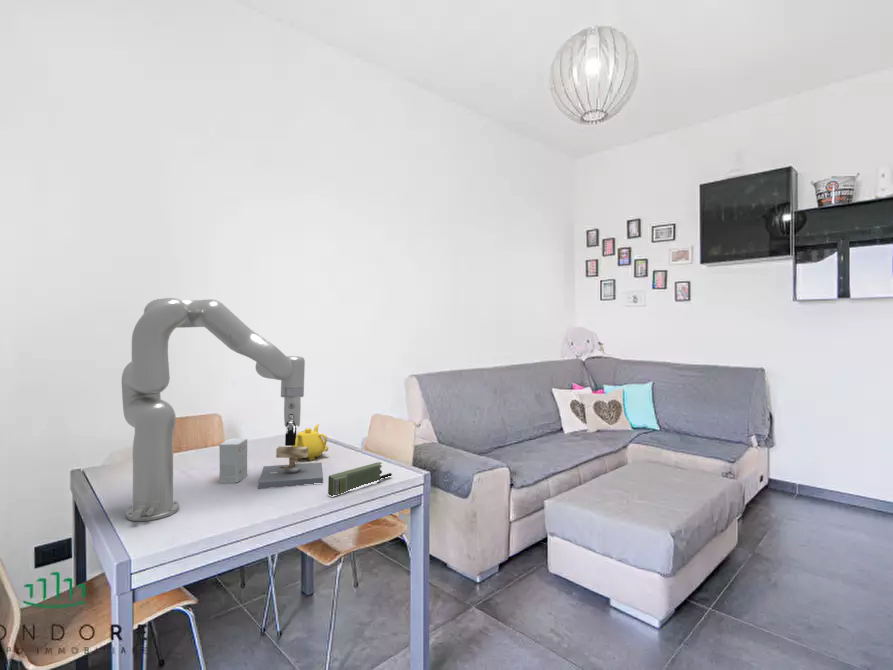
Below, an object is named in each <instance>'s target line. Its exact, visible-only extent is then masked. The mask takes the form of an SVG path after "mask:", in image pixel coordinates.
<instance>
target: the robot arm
mask: <svg viewBox="0 0 893 670" xmlns="http://www.w3.org/2000/svg"><path fill="white" fill-rule="evenodd" d="M179 328H185V329H186V328H204V329H207V330H208V332H210V333H211V334H212V335H213V336H215V337H216V338H217V339H218V340H219V341H221V342H222V343H223V344H224V345H225V346H226V347H227V348H228V349H230V350H232V351H233V352H235V353H237V354H239V355H242V356H244V357H247V358H249V359H251V360H252V361H255V362H256V364H255V371H256V373H257V374H258V375H259V376H261V377H262V378H266V379H271V380H277V381H280V397H281V398H283V419H284V420H283V421H284V423H283V424H284V426H285V427H286V429H285V431H286V433H285V437H284V438H285V441H284V442H285V443H284V446H285V447H291V446H294V445H295V439H296V435H297V427H298V428H299V427H300V426H301V408H302V407H301V398H304V397H305V394H304V393H305V390H304V389H305V370H306V369H305V368H306V367H305V366H306V363H305V362H306V361H305V358H304V357H303V356H296V355H295V356H293V355H289V356H286V354H284V352H283V351H282V350H280V349H279V348H278V347H277V346H275V345H274V344H273V343H272V342H270V341H268V340H267V339H266V338H264V337H262V336H261V335H259V334H258V333H257V332H256V331H254V330H252V329H251V328H250V327H248V325H246V324H245V322H244V321H242V320H241V319H240V318H239V317H238V316H236V315H235V314H234V313H233V312H232V311H231V310H230V309H229V308H228V307H227V306H226V305H225V304H223V303H222V302H220V301H219V300H217V299H208V298H207V299H195V300H193V299H191V300H188V299H186V300H185V299H179V298H176V297H165V298H157V299H153V300H151V301H149V302H148V303H147V304H146V305H145V307H144V309H143V314H142V315H141V316H140V318H139V319H138V321H137V322H136V324H135V325H134V327H133V331H132V335H131V361H130V362H129V363H127V365H125V367H124V369H123V370H122V371H123V372H122V375H121V397H122V399H121V400H122V410H123V417H124V419H125V421H126V422H127V424H128V425H129V426H131V427H132V428H134V436H133V441H132V442H133V443H132V507H130V508H129V509H128V510H126V512H125V518H126V519H128V520H129V521H132V522H133V521H134V522H147V521H148V522H149V521H155V520H159V519H160V520H161V519H163V518H166V517H169V516H171V515H173V514H175V513H176V512H178V511H179V509H180V503H179V502H178V501H175V500H174V438H175V437H174V436H175V428H176V422H177V421H176V420H177V418H176V411H175V409H174V408H173V406H172V405H171V404H170V403H169V402H167V401H165V400H164V399H161V398H162V397H161V393H162V392H164V391H165V390H166V388H167V387H168V386H169V383H170V379H171V377H170V376H171V375H170V366H169V365H170V363H169V340H170V336H171V335H172V333H173V332H174V330H175V329H179Z"/></svg>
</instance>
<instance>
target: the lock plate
mask: <svg viewBox="0 0 893 670" xmlns="http://www.w3.org/2000/svg"><path fill="white" fill-rule="evenodd" d="M295 464H296V465H300V471H299V472H296V473H285V468H279V467H285V466H287V465H288V464H279V465H277V464H276V465H264V466H263V467H262V470H261V474H260V477H259V480H258V482H257V483H258V487H257V489H258V488H263V489H270V488H269V487H275V488H284V486H288V487H297V486H296V485H300V486H305V485H304V484H313V485H315V484H314V483H323V484H324V474H323V465H322V464H323V463H322V462H309V463H306V462H305V463H295Z"/></svg>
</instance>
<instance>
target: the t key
mask: <svg viewBox="0 0 893 670" xmlns="http://www.w3.org/2000/svg"><path fill="white" fill-rule="evenodd" d="M275 455H276V456H275V457H276V458H277V459H278V458H281V459H282V458H284V459H285V458H286V459H288V460H289V462H288V463H289V464H286V465H287V466H285V467H279V468H285V473H296V472H299V471H300V465H296V464H297V463H296V460H295V459H296V458H301V459H307V458H308V457H307V456H308V447H291V446H278V447H277V448H276V451H275ZM306 457H307V458H306Z"/></svg>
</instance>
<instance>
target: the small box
mask: <svg viewBox="0 0 893 670" xmlns="http://www.w3.org/2000/svg"><path fill="white" fill-rule="evenodd" d="M245 476H246V477H247V476H248V438H228V439H227V440H224V441H223V442H222V443H220V444H219V484H232V483H231V482H239V481H240V482H241V481H243V479H244V477H245ZM246 477H245V478H246ZM222 482H223V483H222ZM228 482H229V483H228ZM240 482H239V483H240Z"/></svg>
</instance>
